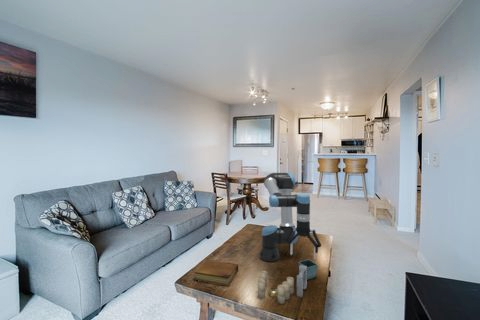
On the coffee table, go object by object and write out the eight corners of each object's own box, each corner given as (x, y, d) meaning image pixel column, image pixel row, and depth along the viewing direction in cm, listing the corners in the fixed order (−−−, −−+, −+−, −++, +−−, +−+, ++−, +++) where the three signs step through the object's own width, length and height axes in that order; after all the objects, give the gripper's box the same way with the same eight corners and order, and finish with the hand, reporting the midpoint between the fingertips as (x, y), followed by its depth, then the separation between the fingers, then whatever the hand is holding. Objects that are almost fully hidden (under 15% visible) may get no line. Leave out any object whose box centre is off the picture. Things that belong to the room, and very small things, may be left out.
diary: (238, 272, 157) (238, 263, 157) (228, 286, 139) (228, 277, 139) (207, 267, 164) (207, 259, 164) (194, 280, 146) (194, 271, 146)
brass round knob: (270, 291, 134) (270, 286, 134) (279, 293, 132) (279, 289, 132) (267, 296, 130) (267, 291, 130) (276, 298, 127) (276, 293, 127)
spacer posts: (261, 283, 142) (261, 270, 142) (294, 291, 134) (294, 277, 134) (252, 296, 129) (252, 281, 129) (288, 306, 121) (288, 290, 121)
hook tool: (300, 284, 141) (300, 264, 141) (306, 286, 140) (307, 266, 139) (295, 295, 130) (295, 274, 130) (303, 297, 128) (303, 275, 128)
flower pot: (307, 281, 144) (307, 267, 144) (298, 275, 152) (298, 261, 152) (318, 279, 148) (318, 264, 148) (308, 272, 156) (309, 259, 156)
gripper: (280, 219, 140) (280, 254, 140) (324, 224, 129) (324, 262, 130) (284, 216, 147) (283, 250, 147) (326, 221, 136) (325, 257, 136)
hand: (303, 256), depth 138 cm, fingers open, 13 cm apart
